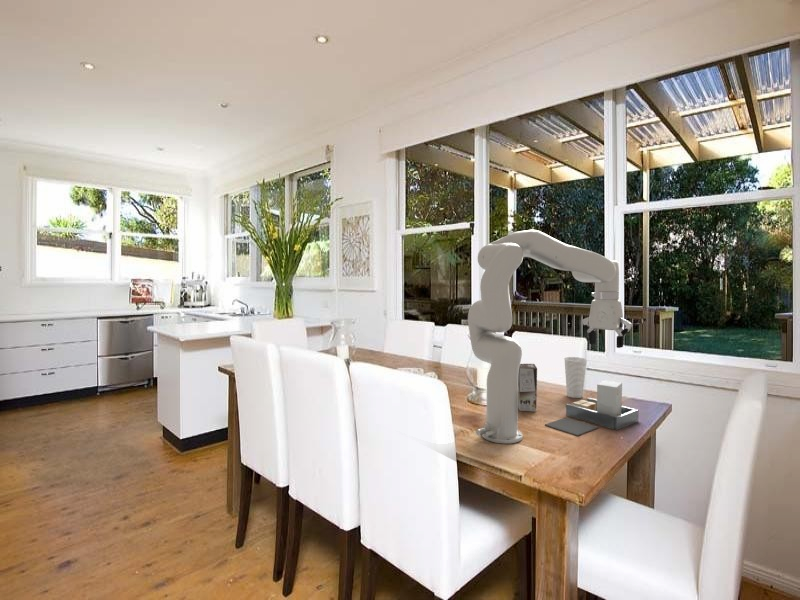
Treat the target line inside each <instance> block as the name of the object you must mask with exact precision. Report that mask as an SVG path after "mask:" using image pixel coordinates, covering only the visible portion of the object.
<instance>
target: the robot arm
mask: <svg viewBox="0 0 800 600" xmlns="http://www.w3.org/2000/svg"><path fill="white" fill-rule="evenodd" d="M524 258H530V259H533V260H534V261H535V260H536V261H537V262H540V264H541V263H542V264H544V265H546V266H548V267H550V268H553V269H557V270H560V271H565V272H566V271H567V272H571V274H572V276H573V278H574V279H575V280H576V281H578V282H581V283H594V292H591V297H593V298H594V299H592V301H591V304H590V310H589V316H588V317H585V318H583V319H581V322H582V325H583V327H584V329H585V330H586V332H587V333H588V342H589V343H588V344H589V345H594V344H596V342H597V333H596V332H595V331H596V330H604V331H605V330H607V331H615V332H616V334H617V336H616V348H617V349H620V348H623V347H624V345H625V336H626V334H628V333H629V332H630V330H631V329H632V327H633V323H632V322H630V321H629V320H627V319H625V318H624V314H623V306H622V301H621V300H619V298H620V297H619V295H620V291H619V290H620V263H619V261H618V260H611V259H610V258H608V257H606V256H604V255H602V254H600V253H597V252H594V251H591V250H588V249H584V248H580V247H577V246H574V245H570V244H567V243H565V242H562V241H560V240H558V239H556V238H554V237H552V236H550V235H548V234H547V233H545V232H542V231H541V230H537V229H528V230H519V231H514V232H512V233H509V234H507V235H505V236H502V237H500V238H499V239H497V240H494V241H492V242H489V243H487V244H486V245H484V246H482V247H481V248H480V250H479V251H478V253H477V263H478V265H479V266H480V268H482V270H484V271H483V274H482V276H481V279H480V283H479V285H480V298H481V299H480V300H477V301H475V302H474V303H473V304H471V306H470V307H469V310H468V314H467V323H468V329H469V337H470V343H471V349H472V353H473V354H474V356H475V358H476V359H478V360H480V361H481V362H484V363H487V364H490V367H489V369H488V371H487V376H486V422H483V423H484V426H483V427H480V428H477V429H476V430H475V434H476V436H478V437H480V436H481V437H482V438H483V439H485V440H486V441H489V442H492V443H496V444H505V445H507V444H516V443H519V442H520V441H522V440H523V437H524V435H523V432H522V431H521V430H519V428H518V427H519V426H518V425H519V424H518V423H519V422H518V421H519V417H518V416H519V415H518V413H519V407H518V374H519V367H520V364H521V362H522V355H523V352H522V350H523V349H522V347H521V345H520V344H519V342H518V341H517V340H515V338H512V337H510V336H508V335H507V336H506V335H502V334H497V333H504V332H505V333H506V332H508V331H509V330H510V329H511V328H512V326H513V313H512V311H513V310H512V303H511V298H510V297H511V296H510V282H511V278H512V277H513V274H514V273H515V272H516V271H517V269H518V268H519V267H520V265H522V262H523V259H524ZM623 325H624V326H625V327H624V329H623Z"/></svg>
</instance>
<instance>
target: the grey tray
mask: <svg viewBox="0 0 800 600" xmlns="http://www.w3.org/2000/svg"><path fill="white" fill-rule="evenodd" d="M586 401H588V402H593V403H596V411H593V410H589V409H586V408H582V407H578V406H574V405H573V404H570V403H566V405H565V415H566V417H569V418H575V419H578V420H580V421H584V422H586V423H587V422H588V423H591V424H593V425H597V426H598V425H599V426H602V427H606V428H609V429H612V430H614V431H617V430H620V429H623V428H625V427H628V426H631V425H633V424H635V423H637V422H639V414H640V413H639V412H640V411H639V409H636V408H632V407H629V406H624V405H622V414H621V415H619V416H616V417H615V416H612V415H608V414H604V413H601V412H597V398H592V397H586Z"/></svg>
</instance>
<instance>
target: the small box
mask: <svg viewBox="0 0 800 600" xmlns="http://www.w3.org/2000/svg"><path fill="white" fill-rule="evenodd" d="M596 386H597V387H596V391H597V392H596V400H597V412H601V413H604V414H608V415H612V416H615V417H616V416H619V415H621V414H622V406H623V404H622V403H623V383H622V382H621V381H614V380H606V379H603V380H602V381H600V382H599V383H598V384H597V385H596Z"/></svg>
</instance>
